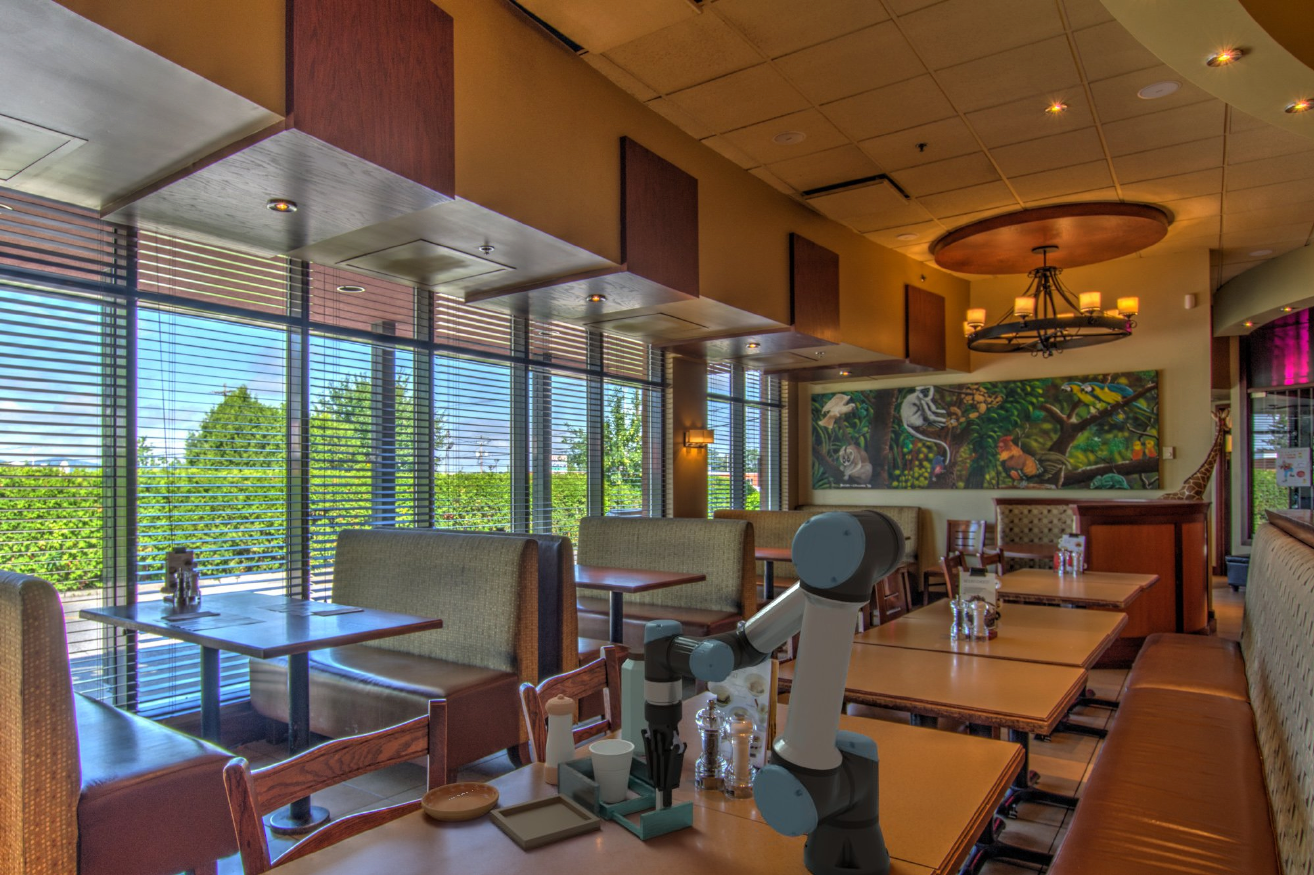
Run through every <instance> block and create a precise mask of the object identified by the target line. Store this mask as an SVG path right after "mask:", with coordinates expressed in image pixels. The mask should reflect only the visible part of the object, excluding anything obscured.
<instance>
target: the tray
mask: <svg viewBox="0 0 1314 875" xmlns="http://www.w3.org/2000/svg"><path fill="white" fill-rule="evenodd" d="M489 821H490V822H491V823H492V824H494V825H495V826H496V827H497V828H498V829H500V831H502V833H504V834H505V835H506V836H507V837H508V838H509V839H510V840H512V841H513V842H514V843H515V844H516V845H517V846H519V847H520V848H521V849H522V850H523V851H528V850H532V849H534V848H535V849H536V848H538V847H542V846H546V845H548V844H553V843H556V842H559V841H563V840H566V839H567V840H568V839H570V838H573V837H577V836H580V835H584V834H588V833H590V832H591V833H592V832H594V831H598V830H601V826H602V825H601V823H602V822H601V819H600V817H599V818H597V817H596V816H595V815H593V814H592V813H590V812H589V811H587V810H586V809H584V808H583V807H581V806H580V805H579V804H577V803H576V802H574V801H573V800H571V799H570V798H568V797H567V796H565V795H564V794H563V793H560V794H558V793H557V794H551V795H548V796H544V797H540V798H536V799H532V800H529V801H524V802H520V803H515V804H511V805H508V806H504V807H499V808H496V809H492V810H491V809H490V810H489Z"/></svg>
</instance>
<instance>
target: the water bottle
mask: <svg viewBox="0 0 1314 875" xmlns="http://www.w3.org/2000/svg"><path fill="white" fill-rule="evenodd" d="M620 678H621V680H620V681H621V682H620V683H621V698H620V699H621V701H620V702H621V706H620V707H621V720H620V721H621V722H620V723H621V734H620V735H621V736H620V737H621V739H620V740H625V741H628V742H631V743H632V744H633V745H634V746H635V748H634V750H633V754H634V755H636V756H645V748H644V741H643V738H642V734H641V730H642V729H645V728H647V727H648V723H649V722H647V721H646V720H645V717H644V703H645V701H646V699H645V698H644V678H645V668H644V647H637V648H636V647H635V648H631V649H628V650H627V659H626V660H625V662H623V663H622V665H621V676H620Z"/></svg>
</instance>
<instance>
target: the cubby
mask: <svg viewBox="0 0 1314 875" xmlns="http://www.w3.org/2000/svg"><path fill="white" fill-rule="evenodd" d="M629 775H631V776H633V777H635V778H636V779H638V780H640V781H642V782H643V783H645V784H647V785H649V786H651V787H652V788H654V789H655V786H654V784H653V781H650V780H649V779H648V772H647V764H646V759H644V758H642V757H640V756H639V755H634V754H633V755H632V762H631V767H630V774H629ZM556 786H557V789H556V791H557V794H560V793H563V794H564V795H565V796H567V797H568V798H570V799H571V800H573V801H574V802H576V803H577V804H579V805H580V806H581V807H583V808H584V809H586V810H587V811H589V812H590V813H592V814H593V815H595V816H596V817H597V818H599V819H600V815H599V802H600V785H598V784H597V783H595V777H594V770H593V764H592V758H591V755H589V756H585V757H580V758H579V757H578V758H576V759H574V760H570V761H566V762H561V763H558V778H557V785H556Z"/></svg>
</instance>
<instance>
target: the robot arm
mask: <svg viewBox="0 0 1314 875" xmlns="http://www.w3.org/2000/svg"><path fill="white" fill-rule="evenodd" d="M906 546H907V544H906V536H905V534H904V531H903V530H902V528H901V527H900V525H899V523H898V522H897V521H896V520H895V519H894V518H893V517H891V516H890V515H889V514H886V513H885V512H882V511H880V510H879V511H878V510H874V509H862V510H852V511H851V510H850V511H849V510H845V511H838V510H833V511H830V510H829V511H827V512H823V513H819V514H816V515H813V516H811V517H810V518H808V519H807V520H806V521H804V522H803V523H802V524H801V526H799V528H798V529H797V531H796V532H795V534H794V536H793V540H792V544H791V551H790V552H791V554H790V556H791V562H792V565H793V566H795V568H796V569H795V572H796V574H797V575H798V577H799V579H798V580H797V581H796V582H794V584H792V585H791V586H790V587H788V588H787V589H786V590H784V591H783V592H781V594H779V595H778V596H777V597H775V598H774V599H773V600H772V601H770V603H767V604H766V605H765V606H764V607H763V608H761V609H760V610H759V611H757V612H756V613H755V614H754V615H752V616H751V617H750V618H748V619H747V620H746V621H745V622H744V623H742V624H741V625H739V626H738V627H737V628H736V629H734V630H730V631H726V632H721V633H716V634H711V635H708V636H700V637H699V636H692V635H687V634H684V633H683V632H684V630H683V626H682V625H683V624H682V623H681V622H680V621H678V620H673V619H655V620H651V621H648V622H647V623H646V624H645V627H644V637H643V639H644V640H643V646H644V647H643V648H644V668H645V678H644V698H645V699H646V701H645V703H644V717H645V720H646V721H647V722H649V723H648V727H647V728H645V729H642V730H641V734H642V738H643V741H644V748H645V755H644V756H645V760H646V764H647V772H648V779H649V780H650V781H653V784H654V786H655V800H656V806H655V810H658V809H662V808H666V807H670V806H673V790H675V789H679V788H680V784H681V777H682V771H683V765H684V764H683V763H684V758H685V753H686V750H687V749H688V743H687V742H686V741H683V742H682V740H681V739H680V731H679V723H680V722H681V721H682V719H683V702H682V698H683V681H682V680H683V676H684V677H689V678H692V679H697V680H700V681H703V682H707V683H722V682H724V681H725V680H727V678H728V677H729V676H730V675H731V674H732V672H734V671H739V670H743V669H747V668H754V667H757V666H758V665H761V664H762V663H765V662H767V661H768V660H769V659H770V658H771V656H772V652H773V651H774V650H775V649H777V648H778V647H780V646H781V645H782V644H784V643H785V642H787V641H788V640H789V639H790V638H792V637H793V636H795V635H796V634H797V633H799V632H800V634H799V640H798V646H797V652H796V658H795V664H794V671H793V676H792V682H791V689H790V696H789V701H788V706H787V711H786V716H785V725H784V730H783V732H782V733H781V734H778V735H777V736H776V737H774V739H773V742H772V746H771V751H770V758H769V763H768V764H765V765H763V766H762V767H760V768H759V770H758V771H757V772H756V773H755V775H754V778H753V782H752V796H753V800H754V803H755V806H756V808H757V810H758V811H759V813H760V816H761V817H762V819H763V820H764V821H765V823H766V824H767V825H768V826H769V828H771V829H773V831H774V832H776V833H778V834H779V835H782V836H784V837H788V838H789V837H790V838H797V837H800V836H803V835H806V836H807V837H806V841H805V842H804V845H803V850H802V851H803V864H804V866H805V868H806V869H807V870H808V871H809V872H811V873H812V874H813V875H889V874H890V873H891V872H890V871H891V856H890V853H889V849H888V848H887V847H886V844H885V839H884V834H883V832H882V828H881V825H880V788H879V786H880V783H879V782H880V773H879V772H880V770H879V769H880V768H879V767H880V765H879V764H880V759H879V750H878V744H877V742H876V741H875V740H874V739H872V737H869V735H868V736H867V735H865V734H862V733H858V732H856V731H855V732H854V731H850V730H844V729H839V724H840V718H841V714H842V708H843V702H844V695H845V692H846V691H845V689H846V684H847V679H848V673H849V668H850V667H849V666H850V661H851V654H852V651H853V650H852V649H853V644H854V639H855V633H856V632H855V631H856V626H857V621H858V615H859V610H860V609H861V608H863V607H864V606H866V605H867V604H868V603H870V601H871V597H872V591H873V587H874V585H876V584H877V583H879V582H881V581H882V580H883V579H885V578H886V577H888V576H890V575H891V574H892V573H895V571H896V570H897V569H898V568H899V567H900V565H901V564H902V562H903V560H904V558H905V556H906V555H905V554H906Z"/></svg>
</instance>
